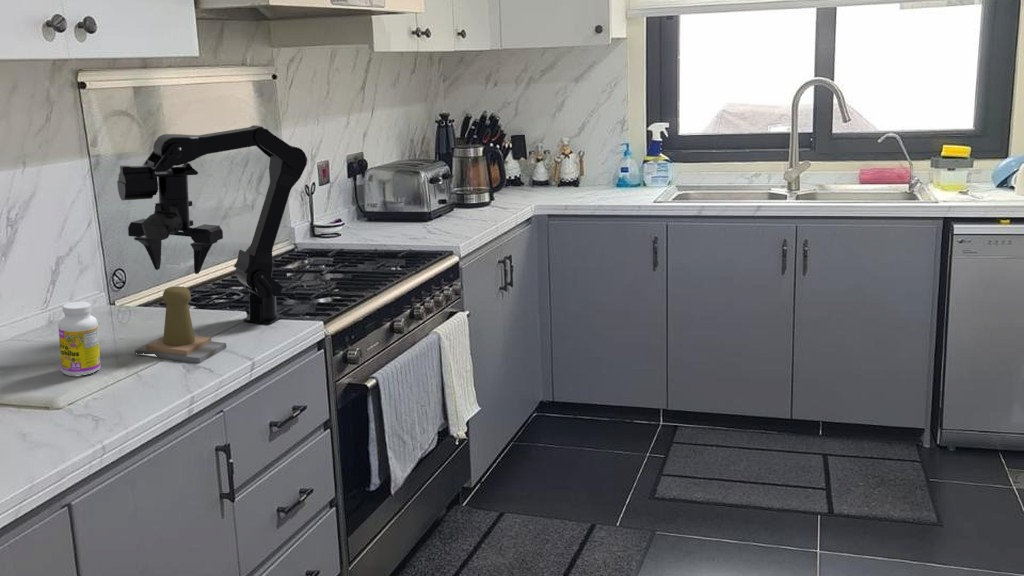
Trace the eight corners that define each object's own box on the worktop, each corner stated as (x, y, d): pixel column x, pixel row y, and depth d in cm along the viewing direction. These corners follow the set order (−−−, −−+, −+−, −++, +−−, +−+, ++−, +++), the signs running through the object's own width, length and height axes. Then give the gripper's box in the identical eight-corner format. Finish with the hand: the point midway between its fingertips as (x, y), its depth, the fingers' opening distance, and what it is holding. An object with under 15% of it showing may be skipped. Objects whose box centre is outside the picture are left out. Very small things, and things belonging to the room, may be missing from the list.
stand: (164, 340, 201) (164, 330, 201) (226, 347, 198) (226, 338, 198) (135, 354, 192) (134, 345, 191) (199, 363, 189) (199, 353, 188)
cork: (166, 347, 191) (163, 292, 188) (160, 338, 196) (157, 285, 193) (198, 343, 193) (195, 289, 191) (191, 335, 199) (189, 282, 196)
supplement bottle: (53, 373, 180) (48, 305, 177) (84, 363, 186) (79, 297, 183) (78, 380, 177) (73, 311, 174) (108, 369, 183) (104, 303, 180)
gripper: (108, 199, 195) (113, 276, 199) (193, 207, 191) (196, 284, 194) (142, 191, 205) (146, 264, 209) (222, 198, 201) (225, 272, 205)
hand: (177, 271), depth 204 cm, fingers open, 9 cm apart
